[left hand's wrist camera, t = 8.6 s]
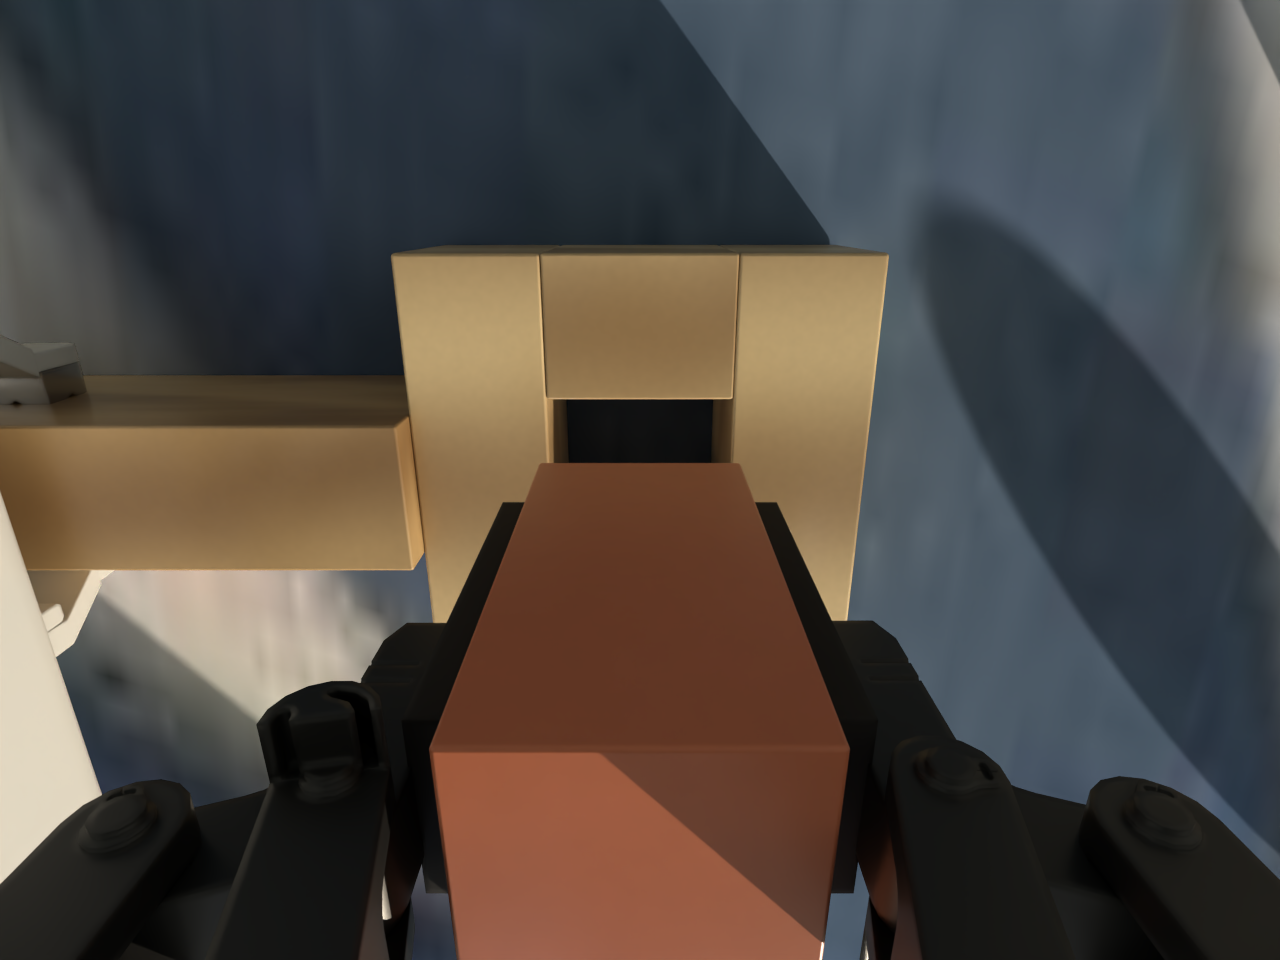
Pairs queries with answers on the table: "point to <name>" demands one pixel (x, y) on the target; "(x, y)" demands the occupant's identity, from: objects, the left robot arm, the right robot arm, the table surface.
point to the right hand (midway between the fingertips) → (83, 452)
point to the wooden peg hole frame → (468, 416)
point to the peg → (639, 733)
